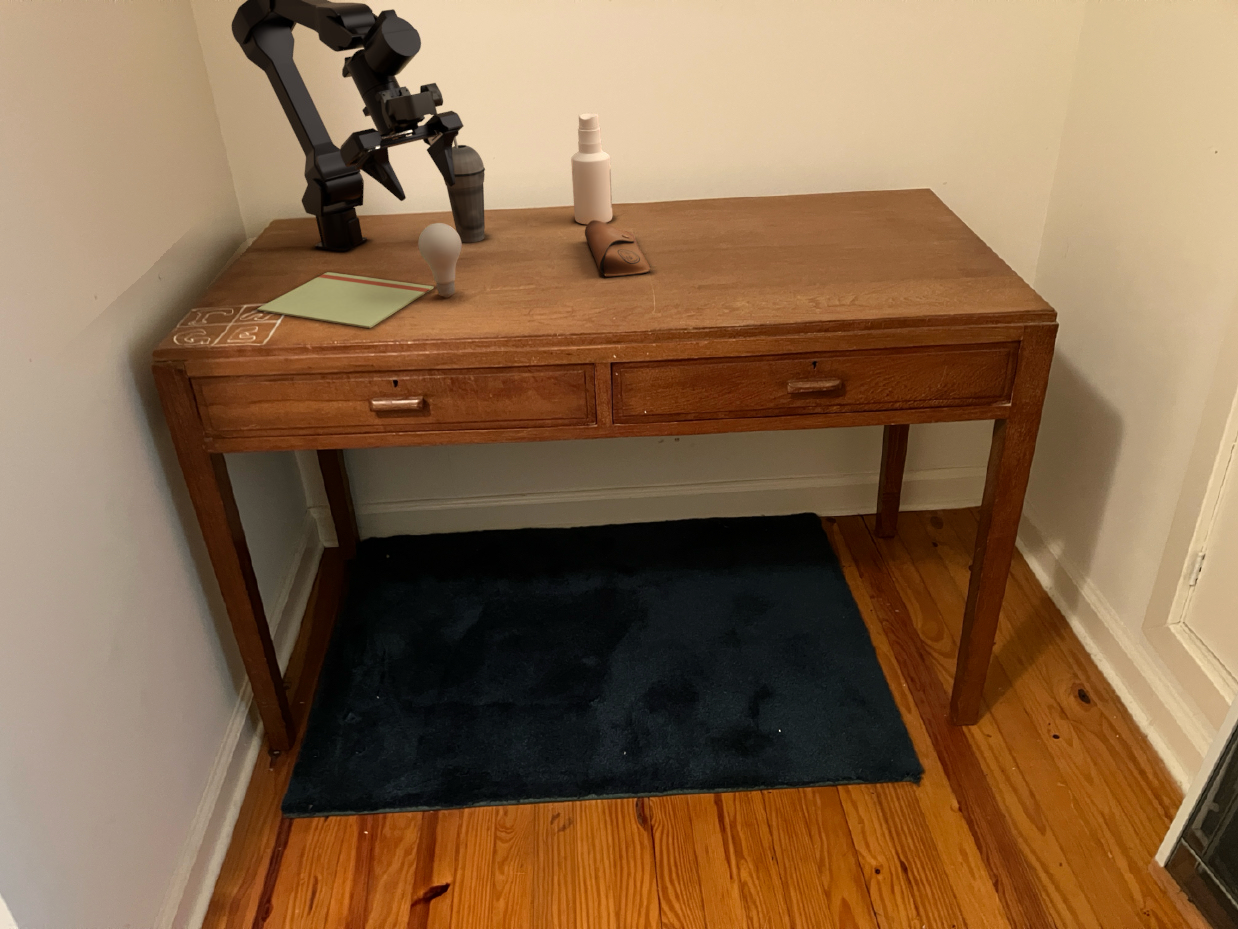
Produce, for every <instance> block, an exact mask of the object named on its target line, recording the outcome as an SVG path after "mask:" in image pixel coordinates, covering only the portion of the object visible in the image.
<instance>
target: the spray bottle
mask: <svg viewBox="0 0 1238 929" xmlns="http://www.w3.org/2000/svg"><path fill="white" fill-rule="evenodd" d="M601 134H602V132H601V126H600V116H599V114H598V113H593V112H587V113H586V112H585V113H580V114H578V128H577V137H578V138H577V139H578V142H577V146H578V147H577V148H578V151H577V152H576V153H574V154H573V155H572V156H571V158H570V162H571V178H572V179H571V181H572V194H573V210H574V213H573V214H574V220H575V222H576V223H578V224H582V225H586V226H587V225H588V224H589V222H590V221H593V220H597V221H601V222H604V223H609V222H611V221H612V219H613V194H612V192H613V191H612V168H611V156H610V154H609V153H607V152H605V151H604V150H603V143H602V135H601Z"/></svg>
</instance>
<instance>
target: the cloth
mask: <svg viewBox="0 0 1238 929" xmlns="http://www.w3.org/2000/svg"><path fill="white" fill-rule="evenodd" d="M434 287H435V286H434V285H427V284H419V283H412V282H404V281H398V280H397V281H396V280H389V279H382V278H375V277H368V276H361V275H352V274H345V273H337V272H331V271H327V272H325V273H323V274H321V275H319V276H317V277H315V278H313V279H311V280H310V281H308V282H306V283H304V284H301V285H300V286H298V287H296V288H294V289H292V290H290V291H288V292H286V293H285V294H283V295H281V296H278V297H276V298H275V299H273V300H271V301H269V302H267V303H265V304H263V305H261V306H260V307H257V311H258V312H264V313H272V314H277V315H283V316H284V315H285V316H291V317H296V318H297V317H298V318H303V319H308V320H315V321H322V322H327V323H334V324H339V325H346V326H351V327H352V326H353V327H359V328H366V329H371V328H373V327H374V326H376V325H378V324H379V323H381V322H382V321H384V320H386V319H387V318H389V317H391V316H392V315H394V314H396V312H398V311H401V309H403V308H405V307H407V306H408V305H409V304H411V303H413V302H414V301H416V300H417V299H419V298H420V297H422V296H424V295H425V294H427V293H429V292H430V291H432V290H434Z"/></svg>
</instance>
